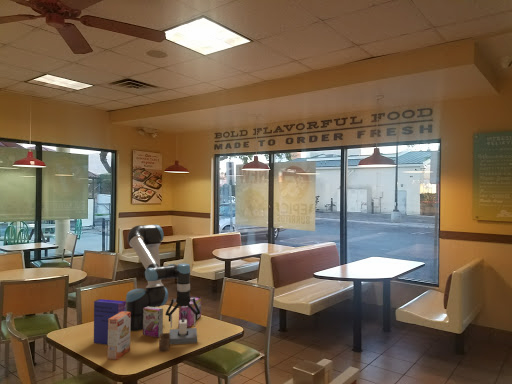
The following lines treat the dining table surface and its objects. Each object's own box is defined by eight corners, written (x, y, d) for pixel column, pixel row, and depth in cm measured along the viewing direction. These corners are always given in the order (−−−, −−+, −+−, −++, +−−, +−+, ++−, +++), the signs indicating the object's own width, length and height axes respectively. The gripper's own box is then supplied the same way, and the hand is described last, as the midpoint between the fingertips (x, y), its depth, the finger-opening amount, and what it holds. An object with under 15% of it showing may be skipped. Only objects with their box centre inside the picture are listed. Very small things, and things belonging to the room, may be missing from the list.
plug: (178, 340, 227) (179, 321, 227) (179, 336, 234) (179, 318, 234) (186, 340, 228) (186, 321, 228) (186, 336, 234) (186, 317, 234)
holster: (159, 351, 212) (159, 340, 212) (160, 344, 222) (160, 333, 222) (168, 350, 213) (168, 339, 213) (169, 343, 223) (169, 333, 223)
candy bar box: (142, 335, 235) (142, 308, 235) (147, 332, 240) (147, 305, 240) (158, 337, 231) (158, 310, 231) (163, 335, 236) (163, 307, 236)
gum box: (189, 327, 249) (189, 306, 249) (177, 327, 251) (177, 305, 251) (201, 316, 273) (201, 296, 273) (190, 315, 274) (190, 296, 274)
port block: (168, 344, 222) (168, 339, 222) (169, 334, 237) (169, 329, 237) (197, 342, 224) (197, 337, 224) (196, 332, 240) (196, 328, 240)
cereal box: (125, 343, 223) (126, 301, 223) (120, 346, 218) (121, 303, 218) (99, 340, 227) (99, 298, 227) (93, 343, 223) (94, 300, 223)
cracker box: (117, 360, 200) (118, 319, 200) (106, 359, 201) (107, 318, 201) (131, 349, 214) (131, 311, 214) (120, 348, 215) (121, 310, 215)
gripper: (161, 292, 225) (160, 329, 225) (205, 291, 229) (204, 327, 229) (162, 289, 232) (161, 325, 233) (204, 288, 237) (203, 323, 237)
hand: (182, 326), depth 231 cm, fingers open, 13 cm apart
